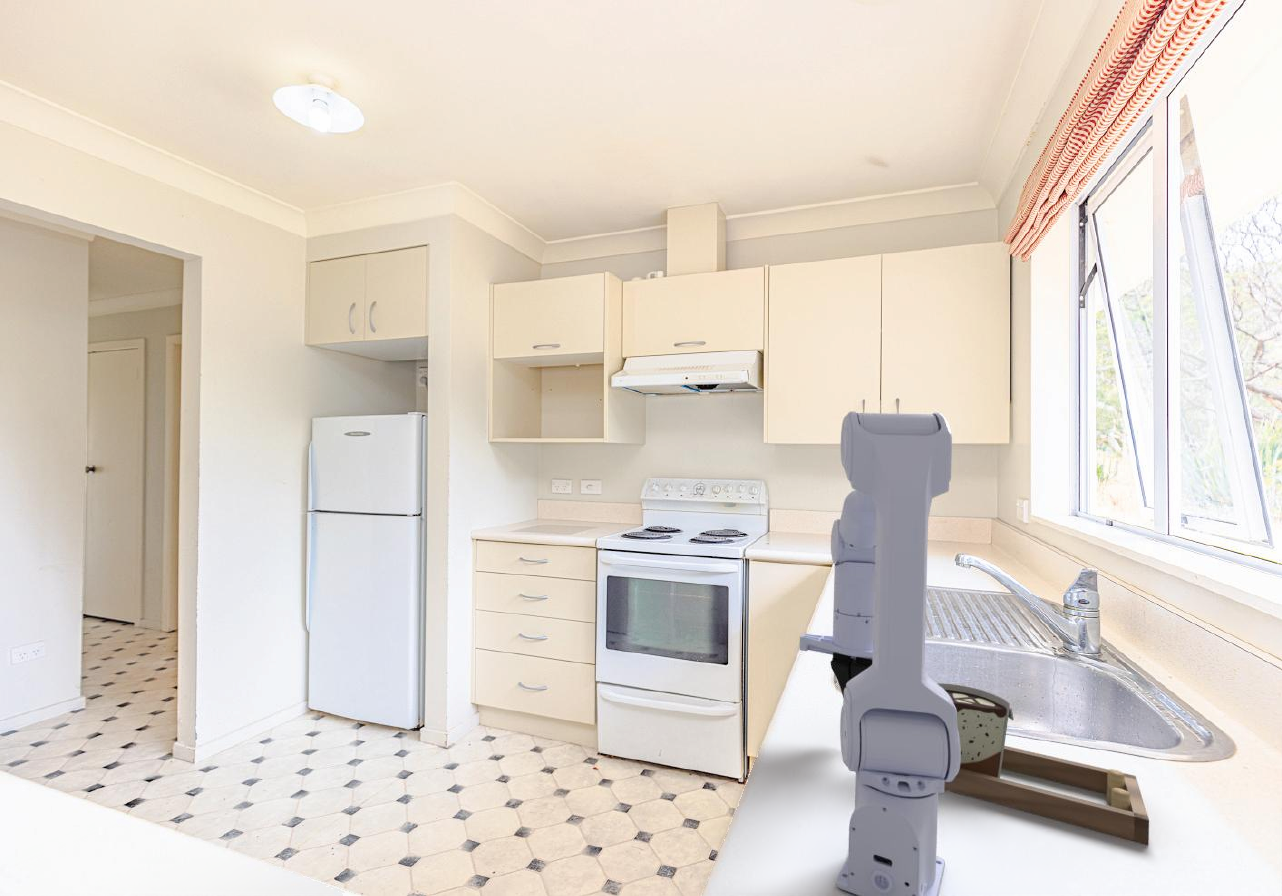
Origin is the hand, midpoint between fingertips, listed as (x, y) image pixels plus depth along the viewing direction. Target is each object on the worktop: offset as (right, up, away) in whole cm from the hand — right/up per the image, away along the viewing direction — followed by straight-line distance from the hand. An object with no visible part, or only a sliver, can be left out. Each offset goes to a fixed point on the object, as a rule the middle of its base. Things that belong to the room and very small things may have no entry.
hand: (852, 712), depth 87 cm
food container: (+10, -5, -6) cm, 13 cm away
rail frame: (+18, -5, -11) cm, 21 cm away
